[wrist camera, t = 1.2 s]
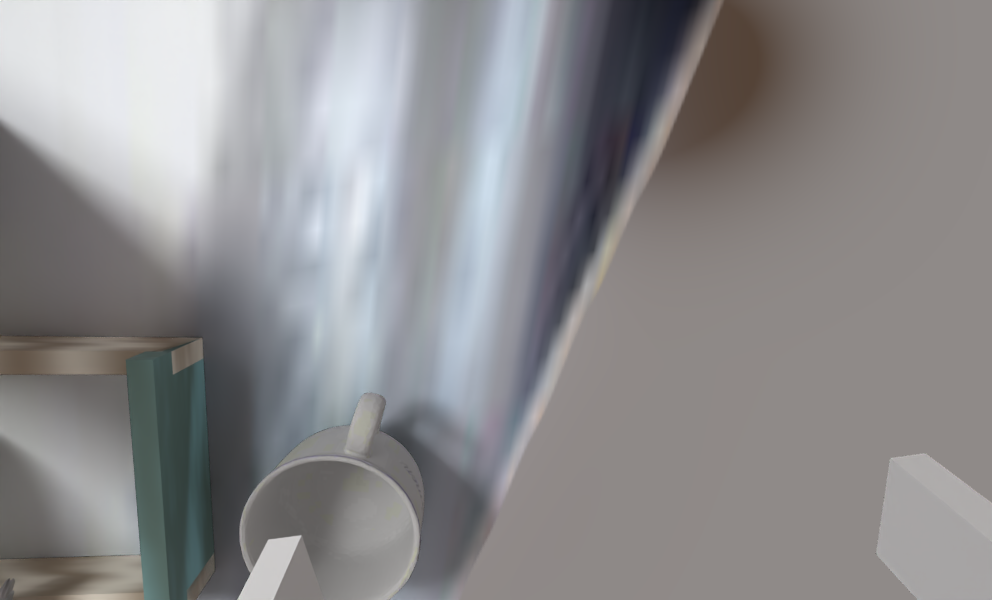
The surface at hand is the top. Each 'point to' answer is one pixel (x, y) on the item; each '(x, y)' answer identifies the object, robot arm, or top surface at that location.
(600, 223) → the top surface
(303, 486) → the teacup
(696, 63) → the top surface
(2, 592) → the spaceship
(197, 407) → the wooden bracket
